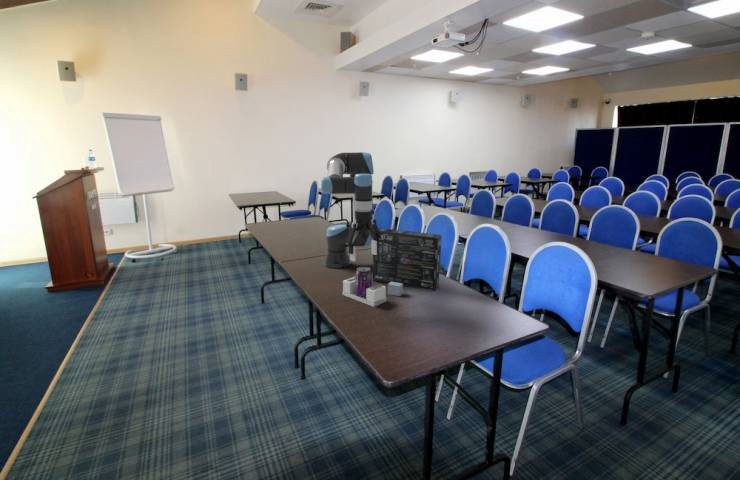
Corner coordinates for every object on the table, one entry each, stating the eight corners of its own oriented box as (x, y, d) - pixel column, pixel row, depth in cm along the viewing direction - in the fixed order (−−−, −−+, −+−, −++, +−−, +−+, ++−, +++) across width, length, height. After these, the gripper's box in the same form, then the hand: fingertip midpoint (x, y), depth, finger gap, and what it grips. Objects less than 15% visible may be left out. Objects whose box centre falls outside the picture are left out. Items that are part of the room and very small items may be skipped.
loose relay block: (391, 291, 176) (391, 281, 175) (402, 293, 173) (402, 283, 172) (387, 294, 173) (387, 284, 171) (399, 296, 170) (399, 286, 169)
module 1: (354, 286, 176) (354, 275, 175) (361, 288, 173) (361, 277, 172) (343, 290, 171) (342, 279, 170) (349, 293, 168) (349, 281, 167)
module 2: (378, 294, 166) (378, 283, 165) (385, 297, 163) (385, 285, 162) (366, 299, 161) (366, 287, 160) (373, 302, 158) (374, 290, 157)
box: (439, 286, 183) (441, 233, 176) (435, 291, 176) (437, 236, 170) (377, 276, 196) (378, 227, 190) (372, 281, 190) (372, 230, 184)
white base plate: (354, 290, 177) (354, 286, 177) (386, 301, 164) (386, 297, 163) (342, 294, 171) (342, 290, 171) (374, 306, 158) (374, 302, 158)
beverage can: (368, 297, 163) (368, 272, 160) (353, 295, 165) (353, 270, 162) (373, 292, 169) (373, 267, 167) (359, 290, 172) (359, 265, 169)
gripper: (376, 206, 169) (376, 250, 175) (336, 212, 152) (337, 261, 157) (388, 207, 164) (388, 253, 170) (348, 215, 147) (349, 265, 152)
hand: (363, 257), depth 163 cm, fingers open, 13 cm apart
